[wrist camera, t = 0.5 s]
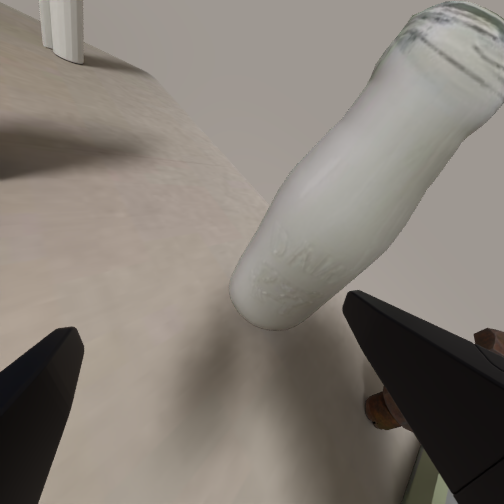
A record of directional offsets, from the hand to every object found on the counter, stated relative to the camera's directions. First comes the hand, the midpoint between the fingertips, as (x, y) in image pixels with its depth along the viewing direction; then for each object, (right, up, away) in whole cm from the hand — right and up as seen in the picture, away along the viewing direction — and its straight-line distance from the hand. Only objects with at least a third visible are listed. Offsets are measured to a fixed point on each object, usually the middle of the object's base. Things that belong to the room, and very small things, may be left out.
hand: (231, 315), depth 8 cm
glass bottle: (+1, -5, +21) cm, 22 cm away
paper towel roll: (-46, +51, +50) cm, 85 cm away
